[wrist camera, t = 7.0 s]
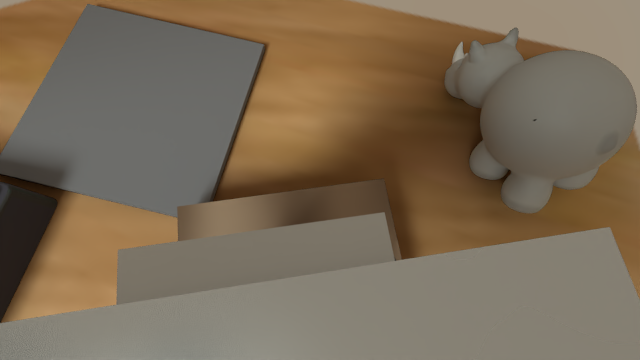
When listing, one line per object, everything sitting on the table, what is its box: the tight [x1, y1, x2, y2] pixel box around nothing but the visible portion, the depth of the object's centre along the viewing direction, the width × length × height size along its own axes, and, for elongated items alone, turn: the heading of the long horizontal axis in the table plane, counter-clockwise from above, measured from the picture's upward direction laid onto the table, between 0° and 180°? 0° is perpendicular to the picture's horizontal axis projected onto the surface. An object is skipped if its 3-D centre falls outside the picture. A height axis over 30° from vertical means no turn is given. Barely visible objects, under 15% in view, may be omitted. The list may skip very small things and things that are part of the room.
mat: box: [0, 4, 265, 217], centre depth 23 cm, size 14×14×1 cm
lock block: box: [177, 178, 402, 261], centre depth 18 cm, size 12×12×3 cm
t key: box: [0, 212, 640, 360], centre depth 9 cm, size 6×4×15 cm, turn 99°
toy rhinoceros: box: [444, 28, 637, 213], centre depth 21 cm, size 7×12×8 cm, turn 22°
